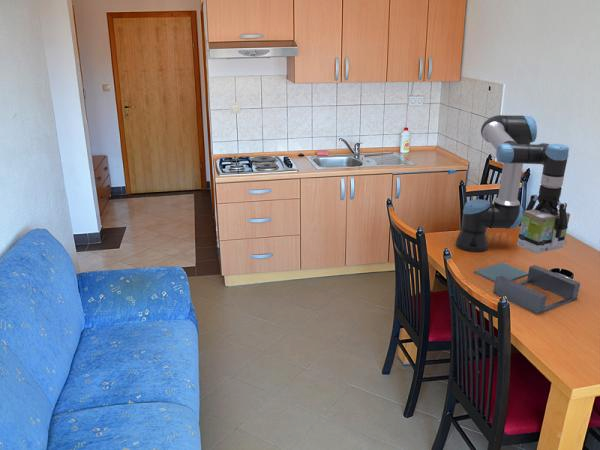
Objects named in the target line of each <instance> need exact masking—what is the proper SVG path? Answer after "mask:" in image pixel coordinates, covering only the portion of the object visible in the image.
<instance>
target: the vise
mask: <svg viewBox="0 0 600 450" xmlns="http://www.w3.org/2000/svg"><path fill="white" fill-rule="evenodd" d="M527 273H528V276H527V279H525V280H522V281H519V282H516V281H515V280H513V281H512V280H510V279H508V278H506V277H503V276H499V277H496V279H495V282H494V287H493V292H492V293H493V294H494V295H496V296H497V297H501V296H506V297H507V299H508V300H507V301H509V302H510V303H513V304H515V305H517V306H519V307H521V308H523V309H525V310H528V311H529V312H531V313H534V314H535V315H541V314H544V313H546V312H548V311H551V310H553V309H556V308H558V307H560V306H563V305H565V304H568V303H571V302H573V301H576V300H577V299H578V296H579V291H580V286H581V282H578V281H576V280H575V279H573V278H570V277H568V276H567V275H565V274H561V273H559V272H557V271H556V272H553V271H551V270H550V269H549V270H548V269H547V268H543V267H541V266H539V265H536V264H533V265H530V266H529V268H528V272H527ZM528 284H532V285H534V286H536V287H539V288H541V289H543V290H545V291H548V292H550V293H552V294H554V295H556V296H559V297H561V298H564V299H560V300H558V301H556V302H553V303H551V304H547V305H546V302H547V295H546V294H543V293H541V292H539V291H537V290H535V289H533V288H531V287H528V286H527V285H528ZM501 298H502V297H501Z"/></svg>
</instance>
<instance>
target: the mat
mask: <svg viewBox="0 0 600 450" xmlns="http://www.w3.org/2000/svg"><path fill="white" fill-rule="evenodd" d="M473 273H474V274H476V275H478V276H479V277H483V278H484V279H486V280H487V279H488V280H489V281H492V282H493V283H495V279H496V277H499V276H503V277H506V278H508V279H510V280H512V281H515V280H519V279H522V278H524V277H528V273H529V272H527V271H524V270H522V269H520V268H517V267H515V266H512V265H510V264H507V263H505V262H503V261H502V262H500V263H496V264H493V265H489V266H486V267H483V268H480V269H477V270H474V271H473Z"/></svg>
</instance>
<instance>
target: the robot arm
mask: <svg viewBox="0 0 600 450" xmlns="http://www.w3.org/2000/svg"><path fill="white" fill-rule="evenodd" d="M537 134H538V128H537V122H536V120H535V118H534V117H532V115H531V116H528V115H523V114H522V115H509V114H508V115H507V114H506V115H503V114H500V115H498V114H497V115H494V116H491V117H490V118H488V119H486V120H485V121H484V122H483V124H482V125H481V128H480V135H481V137H482V138H483V140H484V141H485V142H487V143H490V144H491V145H492V146H493V148H494V149H495V150H496V151H495V158H496V161H497V162H498V163H501V164H502V163H503V164H502V170H501V177H500V183H499V189H498V195H497V197H496V198H495V199H494V200H493V203H491V202H490V200H486V199H479V198H478V199H472V200H468V201H466V202H465V203H464V206H463V210H462V219H461V220H462V221H461V230H460V232H459V234H458V235H457V238H456V239H455V240H456V241H455V246H456V247H457V248H458V249H459V250H463V251H466V252H472V253H482V252H485V251H488V248H489V243H488V239H487V238H488V237H487V229H488V228H489V229H506V230H509V229H517V228H518V227H519V226H520V225H521V222H522V217H523V212H524V211H527V210H533V209H535V210H540V209H546V210H549V211H550V213H551V215H554V216H556V215H560V218H556V219H555V227H556V229H554V231H553V236H552V242H551V246H554V245H557V241H558V238H560V236H561V231H562V230H565V229H568V227H569V226H567V216H566V212H567V206H568V204H567V202H561V201H560V198H561V195H562V187H563V184H564V179H565V173H566V168H567V163H568V158H569V149H570V147H569V146H568V145H565V144H563V143H546V142H540V143H538V144H534V142H536V139H537V136H538V135H537ZM532 143H533V144H532ZM526 164H527V165H542V166H543V167H542V173H541V180H540V185H539V190H538V194H532V195H530V198H529V199H530V200H529V203H528V204H527V206H526V208H525V210H524V208H523V206H522V205H521V202H520V201H519V199H518V198H519V189H520V183H521V179H522V172H523V167H524V165H526ZM537 201H538V204H537V205H536V203H537ZM535 205H536V206H535ZM553 209H554V210H553ZM558 210H559V214H558Z"/></svg>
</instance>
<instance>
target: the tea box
mask: <svg viewBox="0 0 600 450" xmlns="http://www.w3.org/2000/svg"><path fill="white" fill-rule="evenodd" d="M553 210H554V209H553ZM558 214H559V209H558ZM566 216H567V226H568V225H569V221H570V217H571V213H569V212H567V211H566ZM556 218H560V215H556V216H554V215H551V213H550V211H549V210H546V209H540V210H535V208H533V209H532V210H527V211H525V210H523V217H522V220H521V223H520V229H519V233H518V239H517V244H516V246H518V247H520V248H522V249H524V250H527V251H529V252H531V253H533V254H536V255H539V254H542V253H544V252H549V251H550V252H551V251H555V250H559V249H562V248H564V245H565V243H564V240H565V241H566V238H565V235H567V229H568V228H567V229H565V230H562V231H561V236H560V238H558V241H557V245H554V246H551V242H552V236H553V231H554V229H556V227H555V219H556ZM568 227H569V226H568Z"/></svg>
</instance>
